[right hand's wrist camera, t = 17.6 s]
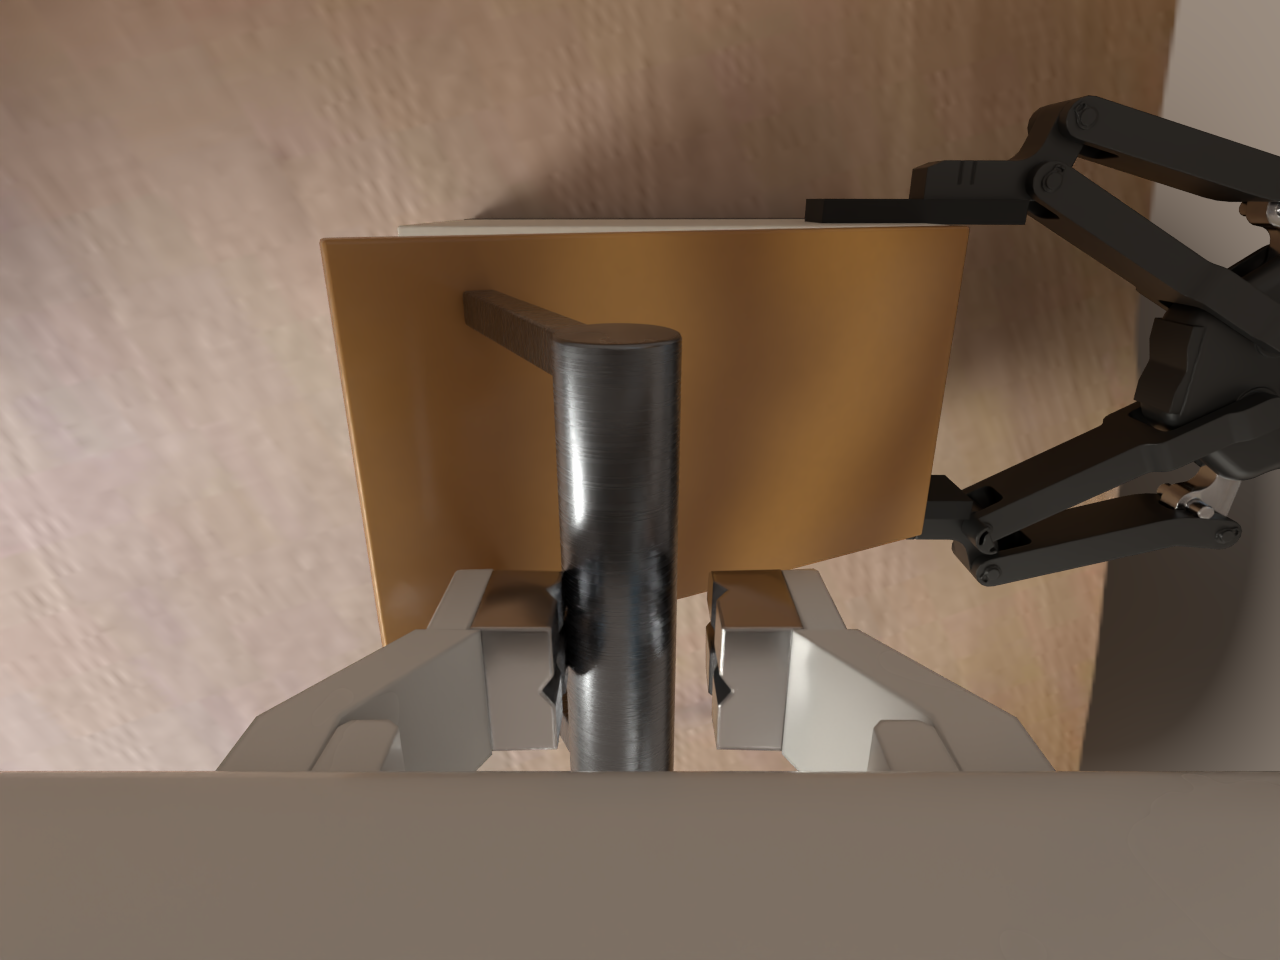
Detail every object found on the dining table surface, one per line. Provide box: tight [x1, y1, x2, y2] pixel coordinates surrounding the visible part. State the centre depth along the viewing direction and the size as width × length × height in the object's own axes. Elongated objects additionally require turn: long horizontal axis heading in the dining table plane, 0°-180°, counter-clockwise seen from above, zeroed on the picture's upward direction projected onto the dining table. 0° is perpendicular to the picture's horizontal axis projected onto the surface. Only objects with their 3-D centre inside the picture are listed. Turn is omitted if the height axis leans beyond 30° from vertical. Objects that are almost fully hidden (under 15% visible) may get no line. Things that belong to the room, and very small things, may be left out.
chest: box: [398, 218, 943, 236], centre depth 27 cm, size 16×10×10 cm, turn 90°
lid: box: [319, 225, 970, 771], centre depth 16 cm, size 17×10×8 cm, turn 89°
